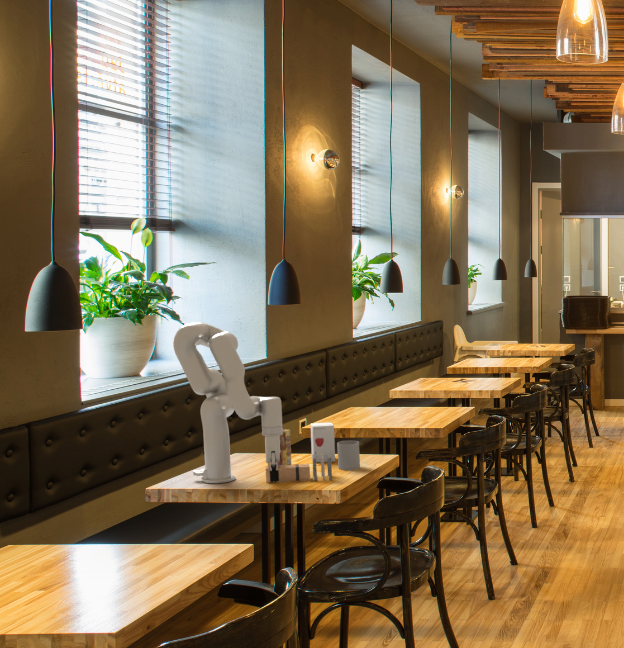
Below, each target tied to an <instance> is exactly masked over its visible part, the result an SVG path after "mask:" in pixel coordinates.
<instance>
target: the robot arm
mask: <svg viewBox="0 0 624 648" xmlns="http://www.w3.org/2000/svg"><path fill="white" fill-rule="evenodd" d="M172 344H173V351H174V354H175V356H176V358H177V360H178V361H179V364H180V366H181V369H182V370H183V373H184V375H185V377H186V378H187V381H188V383H189V385H190V387H191V389H192V390H193V392H194V393H195V394H196V395H199V396H206V398H205V399H204V400H203V402H202V404H201V406H200V418H201V419H200V420H201V424H202V431H203V448H204V449H203V451H204V454H203V455H204V468H202V469H200V470H199V469H196V470H193V472H192V473H193V476H196V477H201V478H200V479H201V482H202V483H204V484H205V483H206V484H224V483H228V482H232V481H234V480H236V475H235V474H233V473H232V471H231V470H232V468H231V465H232V464H231V451H230V450H231V447H230V446H231V445H230V430H229V424H228V420H227V419H228V418H229V417H230V416H231V415H233V413H234V411H235V413H236V415H238V417H239V418H240V419H242V420H251V419H253V418H255V417H259V416H261V430H262V431H261V435H262V436H263V437H264V446H265V463H266V464H268V462H269V461H270V482H269V483H279V482H278V481H279V471H278V462H279V458H280V435H282V434H283V430H284V429H283V412H282V410H283V409H282V400H281V398H280V397H279V396H257V395H256V396H255V395H252V396H250V394H249V393H248V390H247V387H246V384H245V374H246V369H245V366H244V363H243V362H242V361H243V360H241V358H240V356H239V354H238V352H237V349H238V346H239V341H238V338H237V337H236V336H235V335H234V334H233V333H232V332H229V331H226V330H224V329H221V328H219V327H216V326H213V325H211V324H209V323H205V322H190V323H186V324H184V325H181V327H180V328H178V330H177V331H176V333H175V335H174V338H173V342H172ZM200 345H201V346H204V347H207V348H209V350H210V352H211V354H212V356H213V358H214V361H215V362H216V364H217V366H218V369H219V370H220V371H219V370H217V369H215V368H214V367H213V368H212V367H208V365H207V363H206V361H205V360H204V357H203V355H202V354H201V352H199V350H198V348H197V346H200Z"/></svg>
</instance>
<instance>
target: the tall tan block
mask: <svg viewBox="0 0 624 648" xmlns="http://www.w3.org/2000/svg"><path fill="white" fill-rule="evenodd" d="M278 471H279V481H278V482H277V483H283V482H285V483H288V482H302V481H303V482H304V481H305V482H306V481H311V472H310V471H311V470H310V464H309V463H305V464H303V463H302V464H299V463H297V464H291V465H281V466H278ZM265 479H266V480H265V481H266V483H271V482H270V466H268V465H267V466H265Z"/></svg>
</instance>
